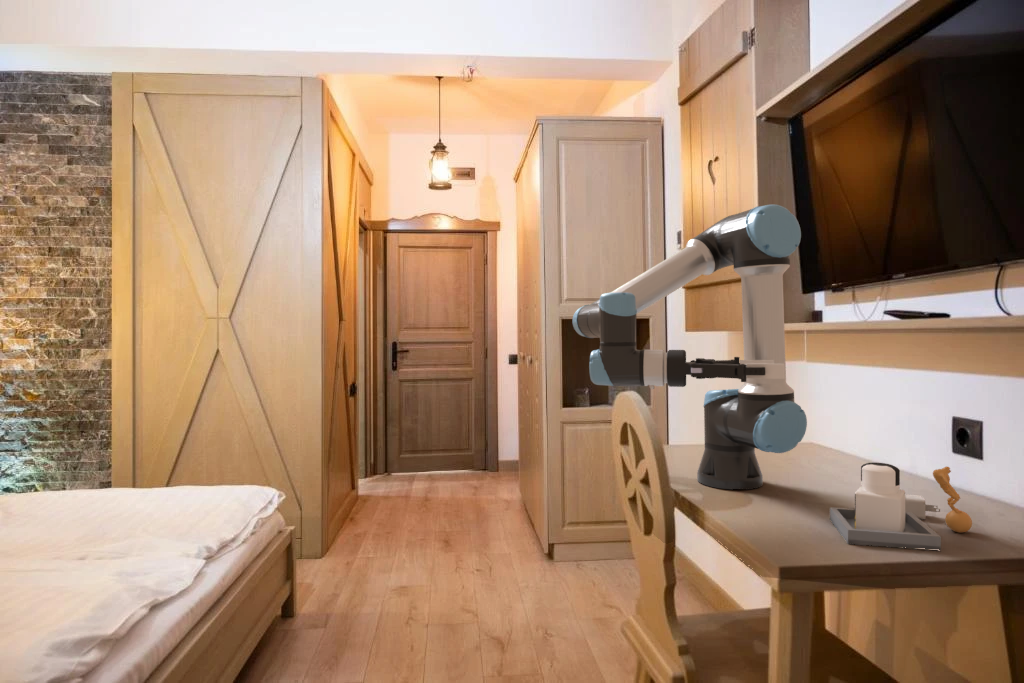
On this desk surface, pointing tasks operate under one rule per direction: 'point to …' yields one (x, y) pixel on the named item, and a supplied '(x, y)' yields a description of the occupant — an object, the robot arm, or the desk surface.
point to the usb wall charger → (918, 506)
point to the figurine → (952, 503)
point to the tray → (885, 532)
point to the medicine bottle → (880, 499)
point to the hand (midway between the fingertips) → (779, 368)
